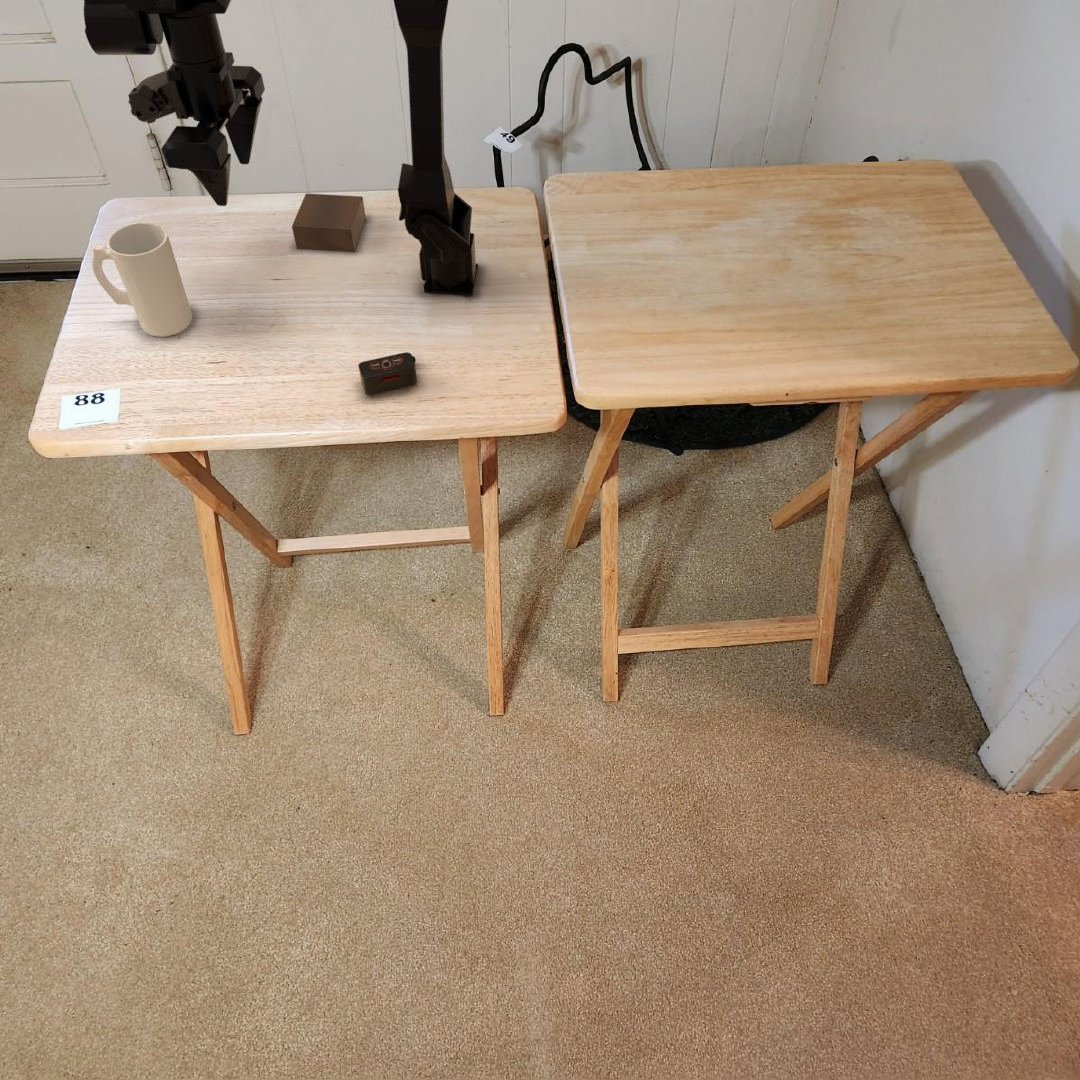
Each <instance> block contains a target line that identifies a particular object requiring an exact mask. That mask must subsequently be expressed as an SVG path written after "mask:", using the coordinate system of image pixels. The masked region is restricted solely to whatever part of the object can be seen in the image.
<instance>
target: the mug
mask: <svg viewBox="0 0 1080 1080" xmlns="http://www.w3.org/2000/svg"><path fill="white" fill-rule="evenodd" d="M173 250H174V249H173V247H172V243H171V241H170V238H169V235H168V231H167V229H166V228H165V227H163V226H162V225H160V224H159V223H154V222H147V221H140V222H139V221H138V222H134V223H128V224H126V225H123V226H121V227H119V228H117V229H116V230H114V231H113V232H111V234H110V235H109V236H108V238H107V240H106V245H103V244H93V246H92V258H91V268H92V271H93V274H94V277H95V278H96V281H97V282H98V283H99V285H100V287H102V289H103V291H105V292H106V294H107V295H108V297H110V298H111V299H112V300H113V302H114V303H115V304H116V305H126V306H129V307H132V308H133V310H134V313H135V315H136V317H137V320H138V322H139V324H140V327H141V329H142V330H143V331H144V332H145V333H146V334H148V335H150V336H153V337H160V338H161V337H162V338H163V337H170V336H174V335H177V334H179V333H181V332H183V331H185V330H186V329H187V328H189V326H190V325H191V323H192V321H193V314H192V310H191V305H190V303H189V299H188V296H187V293H186V290H185V287H184V284H183V280H182V277H181V274H180V270H179V266H178V264H177V261H176V257H175V254H174V251H173ZM106 260H111V261H113V263H114V265H115V267H116V270H117V272H118V274H119V277H120V279H121V281H122V284H123V286H124V288H125V291H124V290H120V289H119V288H117V287H116V286H114V284H112V282H110V280H109V279H108V277H107V276H106V275H105V272H104V270H103V262H104V261H106Z"/></svg>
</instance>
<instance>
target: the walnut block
mask: <svg viewBox="0 0 1080 1080" xmlns="http://www.w3.org/2000/svg"><path fill="white" fill-rule="evenodd" d="M301 201H302V202H301V204H300V206H299V209H298V211H297V213H296V215H295V218H294V220H293V222H292V225H291V228H292V233H293V238H294V244H295V247H296V249H297V250H298V249H301V250H316V251H317V250H318V251H332V252H334V251H336V252H349V253H350V252H351V253H354V252H355V251H356V249H357V245H358V243H359V240H360V237H361V234H362V232H363V228H364V226H365V222H366V218H367V217H366V210H365V203H364V197H363V196H361V195H360V196H358V195H341V194H325V193H324V194H323V193H305V194H304V197H303V199H302V200H301Z"/></svg>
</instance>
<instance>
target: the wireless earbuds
mask: <svg viewBox="0 0 1080 1080" xmlns="http://www.w3.org/2000/svg"><path fill="white" fill-rule="evenodd" d="M416 360H417V359H416V357H415V356H414V355H412V353H411V352H407V351H406V352H401V353H396V354H392V355H388V356H387V355H386V356H383V357H378V358H374V359H373V358H372V359H369V360H363V361H361V362H359V363H358V372H359V378H360V384H361V386H362V389H363V393H364V394H365V395H366V396H367V397H371V396H377V395H381V394H385V393H390V392H394V391H398V390H402V389H406V388H411V387H414V386H416V385H417V383H418V376H417V369H416V368H417V367H416Z"/></svg>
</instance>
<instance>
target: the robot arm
mask: <svg viewBox="0 0 1080 1080" xmlns="http://www.w3.org/2000/svg"><path fill="white" fill-rule="evenodd" d="M231 2H232V0H83V19H84V25H85V26H84V27H85V28H84V33H85V37H86V39H87V42H88V44H89V46H90V48H91V49H92V51H93V52H94V53H95V54H96V55H98V56H152V55H154V54H155V52H156V50H157V45H161V44H162V43H163V41H164V38H165V42H166V44H167V49H168V52H169V55H170V59H171V62H172V64H171V65H170V67H169V68H168V69H166V70H163V71H161V72H159V73H155V74H152V75H151V76H148V77H146V78H144V79H143V80H141V81H140V82H139V83H138V85H137V86H136V87H133V88H132V90H131V91H130V92H129V93H128V95H127V96H128V104H129V105H130V113H131V115H132V116H134V117H136V118H137V120H138V121H140V122H142V123H147V124H153V123H155V122H156V120H158V119H162V118H164V117H167V116H170V115H172V114H174V113H175V116H176V119H177V120H188V119H189V118H192V119H193V121H195V122H198V123H197V124H196V126H190V125H189V126H188V125H176V126H175V127H174V129H173V130H172V131H171V133H170V134H169V136H168V137H167V139H166V141H165V142H164V144H163V145H162V147H161V148H160V151H161V154H162V157H163V160H164V164H165V165H166V167H167V168H169V169H178V170H188V171H189V172H191V173H192V174H193V175H194V176H195V177H196V178H197V179H198V181H199V182H200V183H201V185H202V186H203V187H204V189H205V190H206V191H207V193H208V195H209V196H210V197H211V198H212V200H213V201H214V203H215V204H216V206H219V207H226V206H227V205H228V200H229V191H230V190H229V188H230V177H231V176H230V174H231V163H232V162H231V161H232V154H231V153H230V152H229V142H228V139H227V136H228V138H229V141H230V143H231V145H232V148H233V151H234V153H235V156H236V158H237V160H238V162H239V164H241V165H249V164H250V162H251V161H250V160H251V156H252V151H253V145H254V140H255V135H256V129H257V124H258V120H259V115H260V111H261V105H262V103H263V94H264V92H265V91H266V89H265V88H266V87H265V83H264V79H263V75H262V73H261V72H260V71H258V69H256V68H255V67H254V66H251V65H234V63H235V57H234V54H233V52H229V51H226V49H225V46H224V41H223V37H222V33H221V30H220V26H219V23H218V22H219V21H218V18H217V15H224V14H226V13H227V11H228V9H229V6H230V4H231ZM393 4H394V10H395V13H396V19H397V22H398V26H399V29H400V33H401V36H402V38H403V41H404V43H405V46H406V54H407V55H406V57H407V76H408V78H407V79H408V97H409V100H408V102H409V119H410V120H409V121H410V142H411V145H410V146H411V161H412V162H411V163H412V164H410V163H409V164H408V163H404V162H403V163H401V168H400V173H399V180H398V187H397V193H398V198H399V203H400V209H399V215H398V216H399V217H398V221H400V222H402V221H403V220H404V227H405V230H406V232H407V233H408V234H409V235H411V236H412V237H413V238H414V239H416V240H418V242H419V245H420V248H419V249H420V250H419V254H418V259H419V267H420V268H419V269H420V278H421V280H422V281H424V283H423V284H424V285H423V288H422V289H423V292H424V293H425V294H433V295H447V296H449V295H450V296H465V297H466V296H468V297H470V296H472V295H474V291H475V288H476V282H477V277H478V273H479V264H478V263H476V259H477V258H476V242H475V241H476V239H475V233H474V232H471V229H472V215H473V207H472V206H471V205H470V204H468V203H467V202H466V200H464V199H463V198H461V197H460V195H458V194H457V193H456V192H455V190H454V184H453V179H452V175H451V170H450V167H449V165H448V161H447V158H446V155H445V122H444V121H445V119H444V72H443V71H444V68H443V65H444V63H443V61H444V60H443V37H444V31H445V25H446V18H447V13H448V5H449V0H393ZM224 128H225V131H226V133H227V135H225V134H224V133H223V132H222V131H223V129H224Z"/></svg>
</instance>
